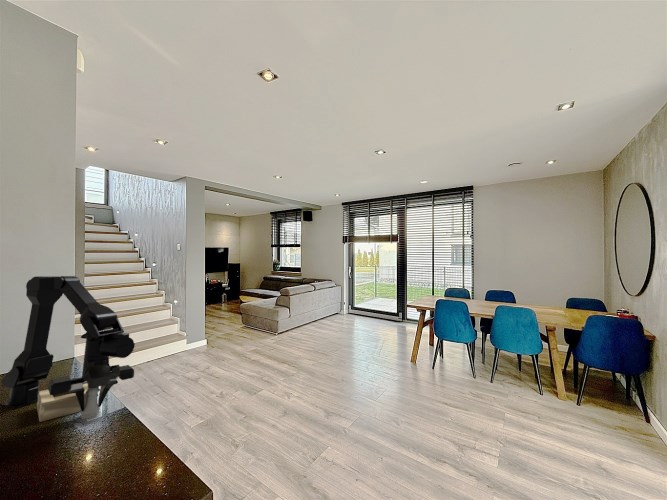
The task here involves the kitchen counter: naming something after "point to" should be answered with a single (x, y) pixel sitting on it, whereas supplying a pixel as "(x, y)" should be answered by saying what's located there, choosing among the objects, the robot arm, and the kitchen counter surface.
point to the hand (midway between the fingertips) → (90, 408)
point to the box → (58, 404)
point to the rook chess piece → (91, 404)
